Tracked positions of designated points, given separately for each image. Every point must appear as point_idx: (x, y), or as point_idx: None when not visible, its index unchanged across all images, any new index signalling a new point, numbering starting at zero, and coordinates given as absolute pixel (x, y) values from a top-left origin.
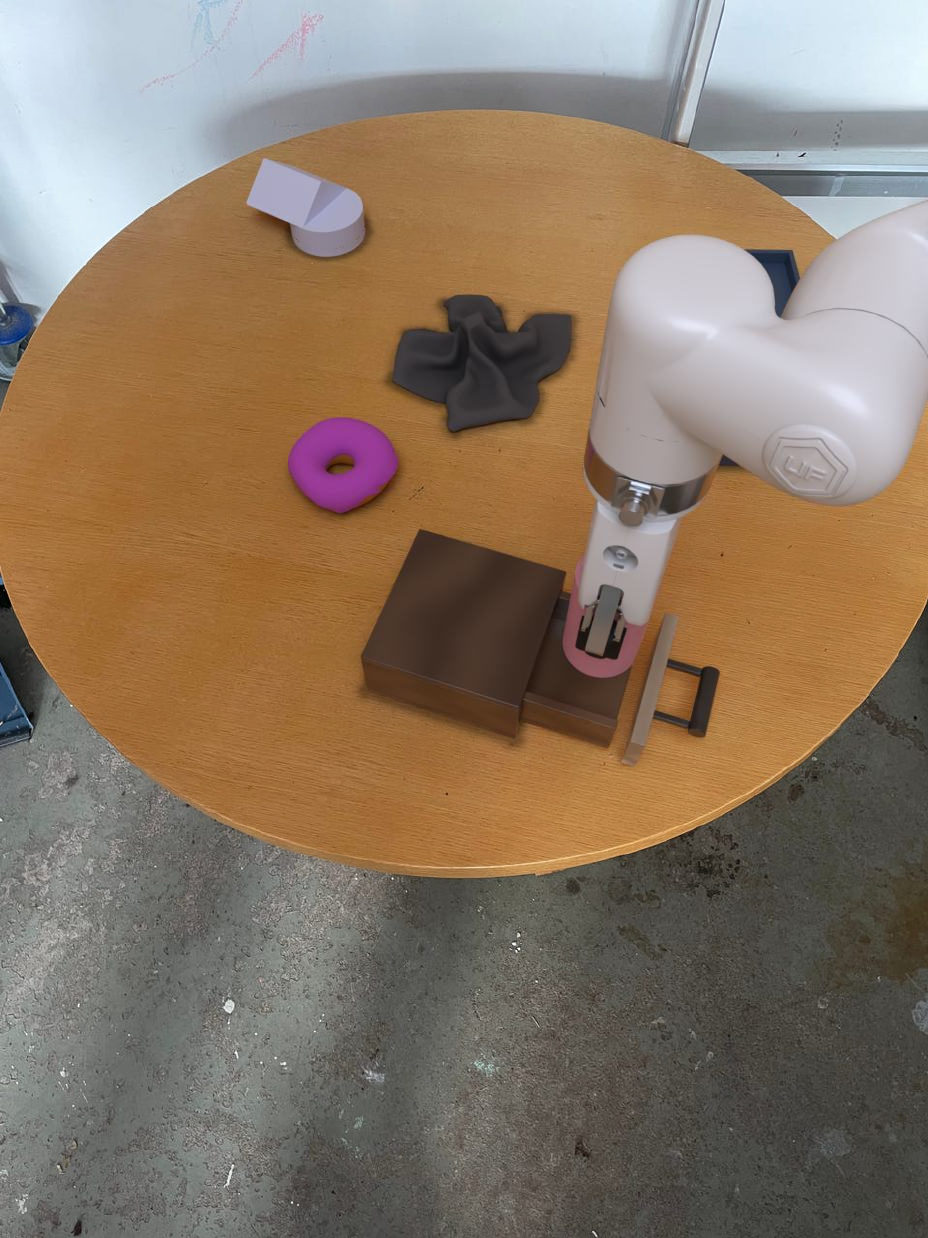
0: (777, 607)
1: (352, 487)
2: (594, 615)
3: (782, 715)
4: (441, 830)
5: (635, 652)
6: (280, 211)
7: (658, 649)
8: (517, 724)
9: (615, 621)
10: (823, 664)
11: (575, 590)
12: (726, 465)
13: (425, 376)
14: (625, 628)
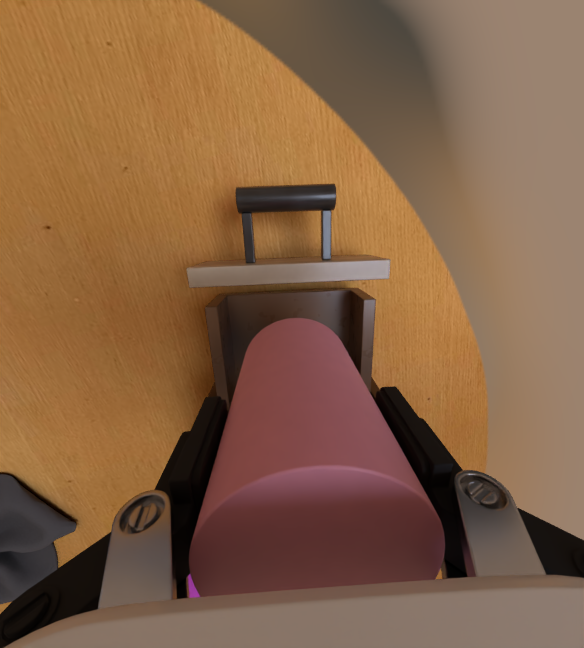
0: (81, 132)
1: (194, 587)
2: (444, 558)
3: (234, 90)
4: (460, 391)
5: (320, 335)
6: None
7: (249, 281)
8: (372, 382)
9: (450, 515)
10: (133, 42)
11: None
12: None
13: (31, 562)
14: (435, 467)
